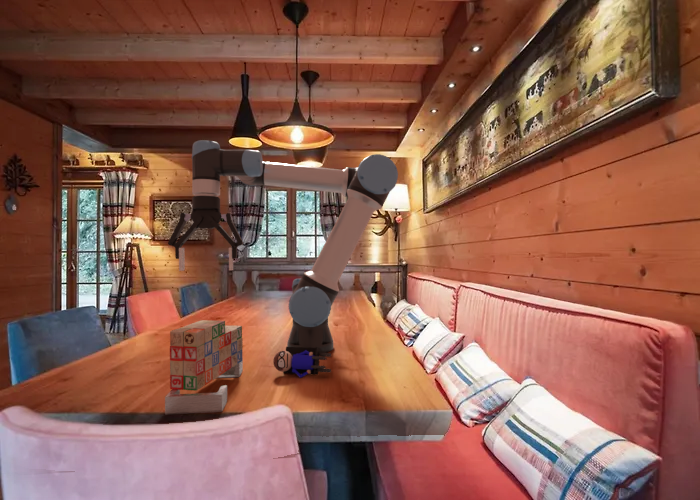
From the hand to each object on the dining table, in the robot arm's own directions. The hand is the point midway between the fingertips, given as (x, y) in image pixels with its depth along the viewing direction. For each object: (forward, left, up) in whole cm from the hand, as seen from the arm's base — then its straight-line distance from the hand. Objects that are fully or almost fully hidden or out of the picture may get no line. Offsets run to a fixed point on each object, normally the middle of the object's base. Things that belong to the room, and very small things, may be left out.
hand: (206, 270), depth 110 cm
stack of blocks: (-6, +21, -23) cm, 32 cm away
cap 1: (-6, +32, -27) cm, 42 cm away
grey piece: (-6, +11, -27) cm, 29 cm away
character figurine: (-27, +14, -27) cm, 41 cm away
